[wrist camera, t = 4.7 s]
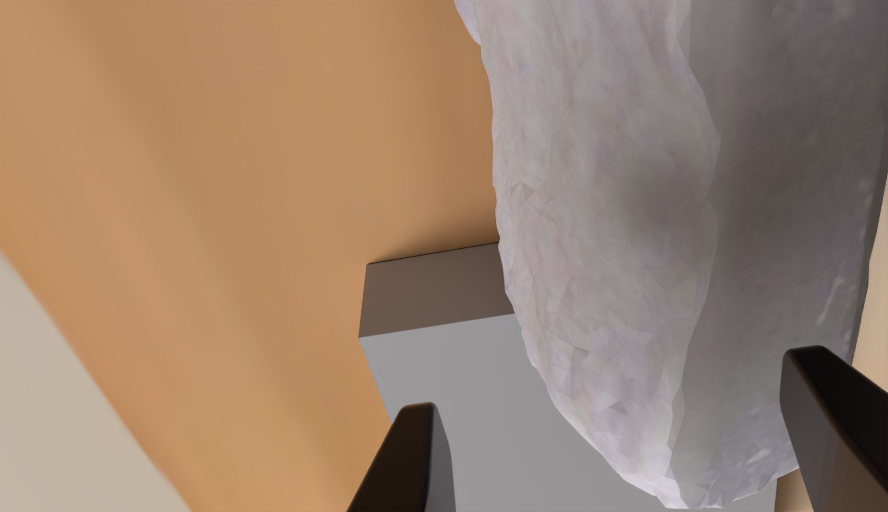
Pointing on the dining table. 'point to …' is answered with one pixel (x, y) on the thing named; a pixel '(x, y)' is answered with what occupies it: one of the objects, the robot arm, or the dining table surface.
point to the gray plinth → (489, 390)
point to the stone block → (685, 215)
